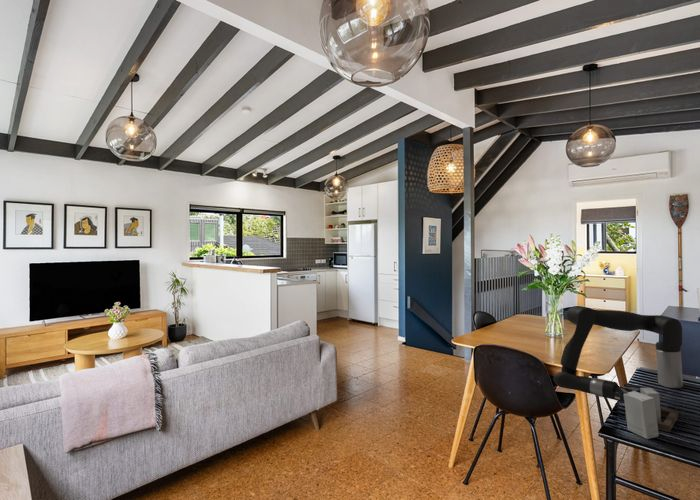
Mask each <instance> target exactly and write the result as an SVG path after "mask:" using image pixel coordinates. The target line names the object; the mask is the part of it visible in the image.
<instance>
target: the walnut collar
mask: <svg viewBox="0 0 700 500" xmlns="http://www.w3.org/2000/svg"><path fill="white" fill-rule="evenodd" d="M660 411H661V417H665V418H664V420H663V421H661V422H660V421H657V425H658V431H659V430H660V431H662V432H663V431H664V432H667V433H670V432H671V430H672V428H673V427H674V425H675V424H676V422H677V421H678V420H679V419H678V418H679V412H678V411H675V410H671V409H667V408H663V407H660ZM624 419H625V421H626V422H627V419H626V414H625V416H624Z"/></svg>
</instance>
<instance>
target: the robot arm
mask: <svg viewBox="0 0 700 500" xmlns="http://www.w3.org/2000/svg"><path fill="white" fill-rule="evenodd" d="M566 318H567V320H568V321H569V322H570V323H571V324H573V325H576V326H575V330H574V333H573V334H572V336H571V338H570V339H569V341H568V342H567V343H566V345H565V346H564V348H563V351H562V354H561V359H560V365H561V369H560V370H561V371H559V372H556V373H555V374H554V375H553V382H554V383H555V385H556V386H557V387H560V388H562V389H567V390H572V391H573V390H574V391H579V392H583V393H585V394H586V393H587V394H590V395H594V396H597V397H600V398H606V399H610V400H614V401H616V402H621V403H624V404H625V402H624V395H623V394H625V393H629V392H632V391H636V392H639V393H640V388H642V387H641V386H636V385H631V384H623V386H619V384H618V382H616V381H613V380H608V379H603V378H594V377H590V376H585V375H584V376H583V375H577V371H578V370H577V368H578V364H579V361H580V357H581V353H582V350H583V347H584V345H585V343H586V341H587V339H588V337H589V334H590V332H591V330H592V328H593V326H597V327H604V328H606V329H612V330H616V331H622V332H623V331H624V332H635V331H639V330H640V331H647V332H652V333H655V334H658V335H661V336H662V340H660V341H657V342H656V343H655V355H656V357H655V358H656V369H657V381H658V384H659V385H661V386H662V387H666V388H671V389H672V388H673V389H679V388H683V387H684V381H683V380H684V378H683V364H682V352H681V350H682V349H681V347H682V345H683V327H682V324H681V323H682V322H680V320H679V319H677V318H674V317H670V316H666V315H660V314H659V315H658V314H657V315H656V314H655V315H653V314H652V315H650V314H639V313H635V312H631V311H630V312H629V311H622V310H613V309H611V310H610V309H593V308H590V307H585V306H582V305H574V306H571V307H570V308H568V309H567V311H566Z"/></svg>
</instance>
